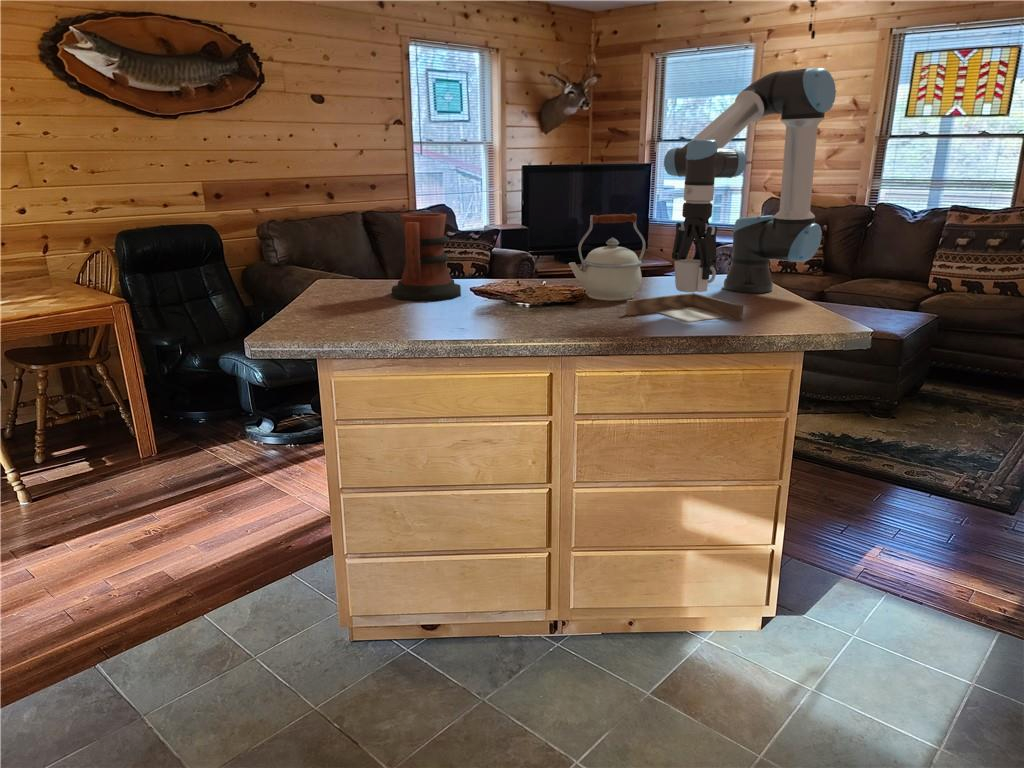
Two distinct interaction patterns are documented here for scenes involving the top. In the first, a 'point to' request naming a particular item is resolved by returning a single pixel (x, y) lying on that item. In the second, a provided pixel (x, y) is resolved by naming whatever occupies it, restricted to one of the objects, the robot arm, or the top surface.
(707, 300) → the wooden corner frame
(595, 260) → the kettle
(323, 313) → the top surface
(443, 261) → the tankard
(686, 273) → the cup
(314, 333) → the top surface
